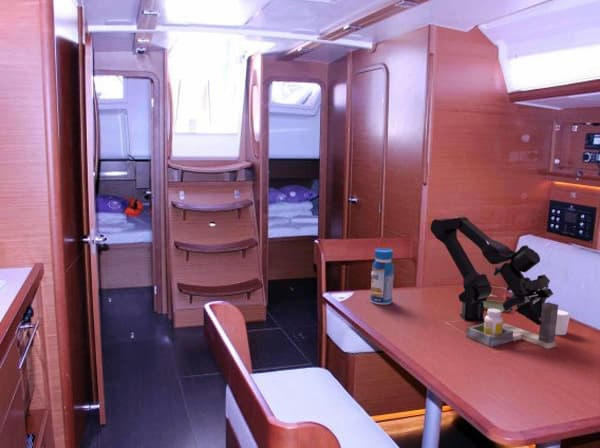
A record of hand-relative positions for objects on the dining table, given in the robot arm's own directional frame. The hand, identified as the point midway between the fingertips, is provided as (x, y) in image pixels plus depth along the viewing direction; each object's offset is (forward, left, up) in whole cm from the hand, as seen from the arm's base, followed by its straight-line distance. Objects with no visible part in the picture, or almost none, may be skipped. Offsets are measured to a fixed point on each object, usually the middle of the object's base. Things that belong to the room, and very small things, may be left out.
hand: (543, 323), depth 167 cm
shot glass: (+10, +10, -7) cm, 16 cm away
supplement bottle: (-14, +3, -7) cm, 16 cm away
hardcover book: (+1, +42, -7) cm, 43 cm away
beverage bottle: (-41, +41, -7) cm, 59 cm away
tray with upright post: (-9, +2, -6) cm, 11 cm away
